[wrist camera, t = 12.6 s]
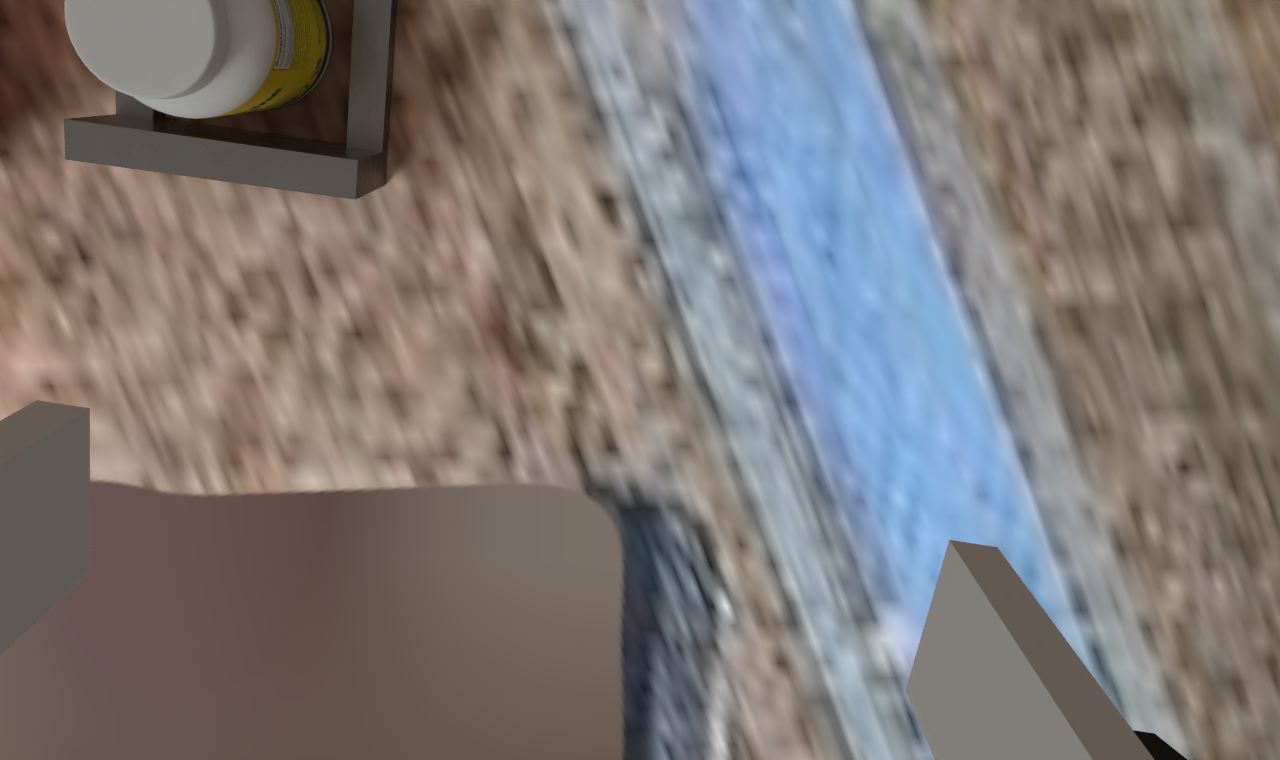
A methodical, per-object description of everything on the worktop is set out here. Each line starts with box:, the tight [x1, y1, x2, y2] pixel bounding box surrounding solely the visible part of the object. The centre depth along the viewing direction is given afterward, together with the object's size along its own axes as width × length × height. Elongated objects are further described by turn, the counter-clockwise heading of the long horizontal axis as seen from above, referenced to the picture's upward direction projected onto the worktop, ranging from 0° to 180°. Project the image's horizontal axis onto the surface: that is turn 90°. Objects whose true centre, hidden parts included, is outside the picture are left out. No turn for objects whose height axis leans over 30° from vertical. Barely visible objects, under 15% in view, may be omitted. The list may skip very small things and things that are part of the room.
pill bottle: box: [64, 0, 332, 119], centre depth 36 cm, size 6×6×11 cm
